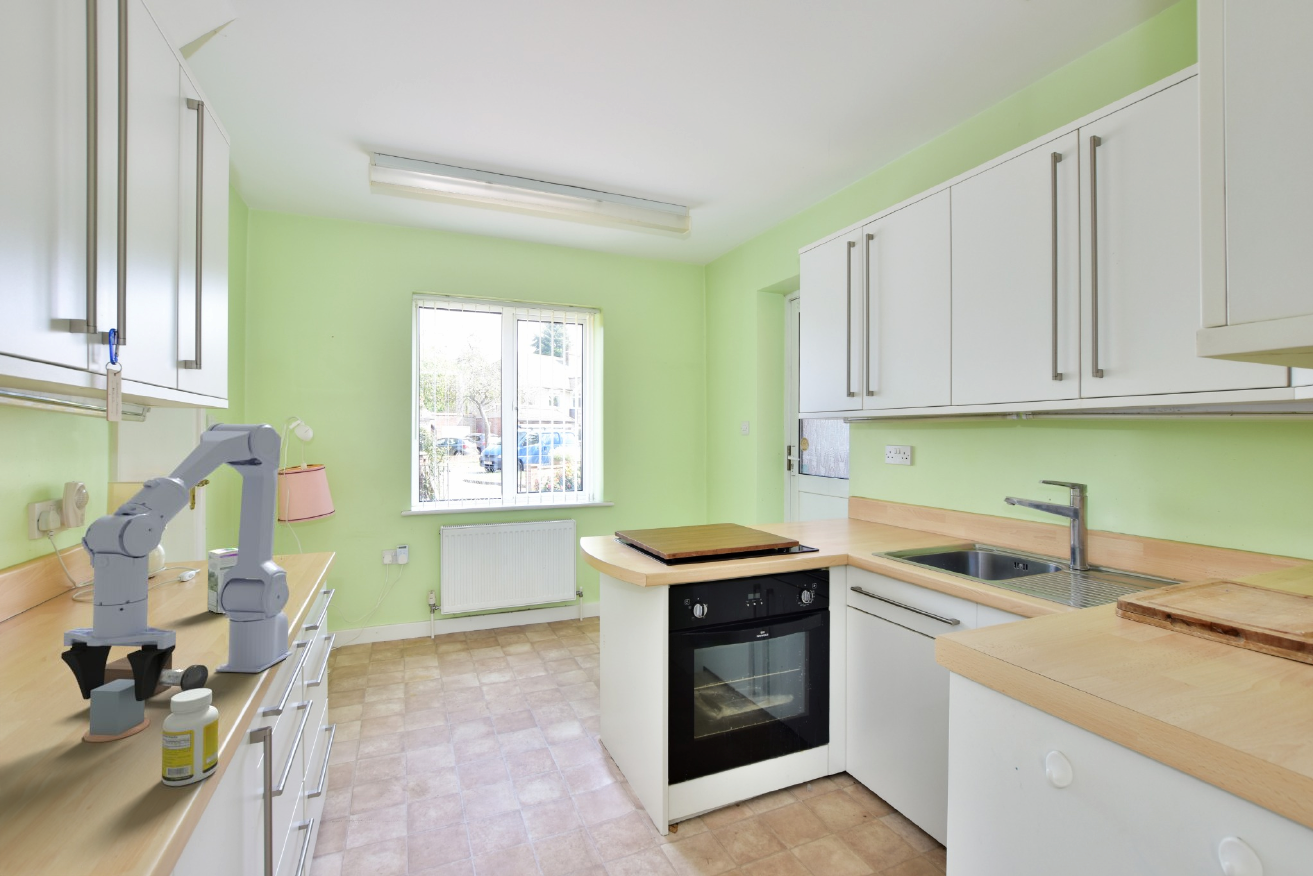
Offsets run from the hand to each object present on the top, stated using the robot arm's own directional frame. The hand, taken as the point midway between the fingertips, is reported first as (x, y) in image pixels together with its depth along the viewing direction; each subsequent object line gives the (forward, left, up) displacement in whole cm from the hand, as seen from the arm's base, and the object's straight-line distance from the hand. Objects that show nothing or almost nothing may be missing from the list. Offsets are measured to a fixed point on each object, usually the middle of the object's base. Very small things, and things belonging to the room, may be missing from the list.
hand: (118, 697), depth 83 cm
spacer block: (0, 0, -4) cm, 4 cm away
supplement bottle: (+10, +19, -5) cm, 22 cm away
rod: (-11, -2, -4) cm, 12 cm away
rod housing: (-11, -8, -5) cm, 14 cm away
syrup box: (-58, -30, -5) cm, 65 cm away
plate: (0, 0, -5) cm, 5 cm away
